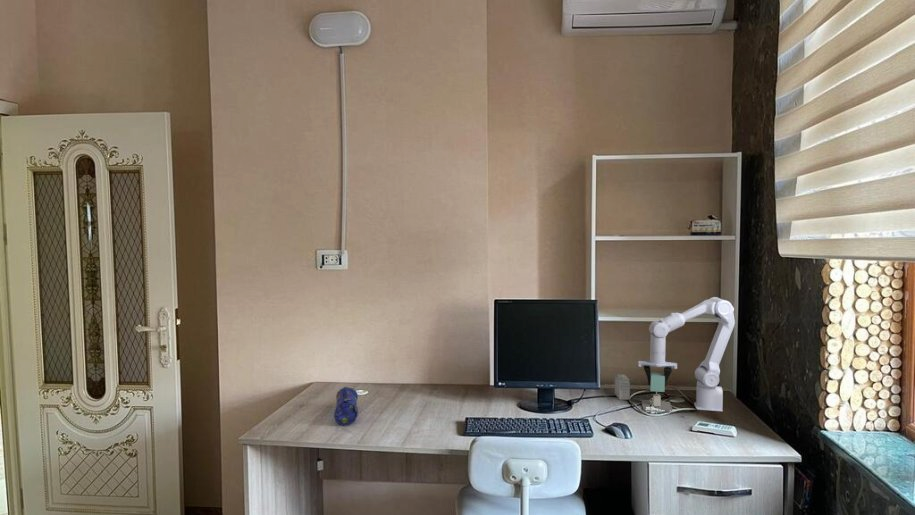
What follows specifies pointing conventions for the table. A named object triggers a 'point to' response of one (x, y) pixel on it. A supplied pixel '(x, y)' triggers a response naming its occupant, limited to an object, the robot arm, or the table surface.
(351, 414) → the pencil case
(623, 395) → the medicine box
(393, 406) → the table surface
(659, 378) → the seafoam green cube
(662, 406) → the post board
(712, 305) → the robot arm
